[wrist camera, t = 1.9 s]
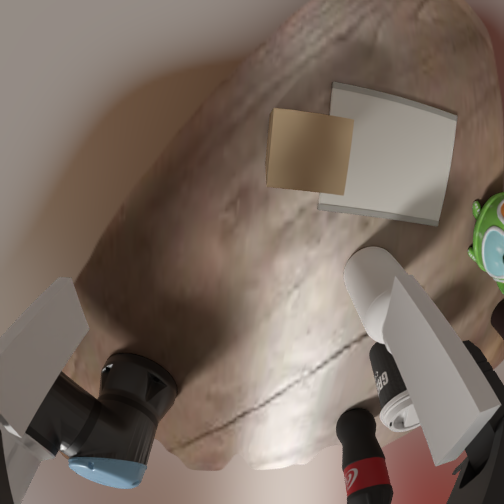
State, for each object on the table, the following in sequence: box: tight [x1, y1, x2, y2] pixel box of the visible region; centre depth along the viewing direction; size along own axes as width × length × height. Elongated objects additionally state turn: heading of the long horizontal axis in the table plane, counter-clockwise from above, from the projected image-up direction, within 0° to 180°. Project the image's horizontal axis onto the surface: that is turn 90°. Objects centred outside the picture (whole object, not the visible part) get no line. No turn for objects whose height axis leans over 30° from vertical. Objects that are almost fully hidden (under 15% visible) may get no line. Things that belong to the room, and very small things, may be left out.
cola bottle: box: [336, 409, 393, 504], centre depth 41 cm, size 8×8×30 cm
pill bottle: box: [344, 247, 408, 354], centre depth 34 cm, size 8×8×15 cm
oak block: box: [265, 108, 354, 196], centre depth 28 cm, size 6×6×14 cm
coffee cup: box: [369, 342, 421, 432], centre depth 40 cm, size 10×10×15 cm
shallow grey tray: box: [317, 82, 457, 227], centre depth 34 cm, size 18×16×1 cm
